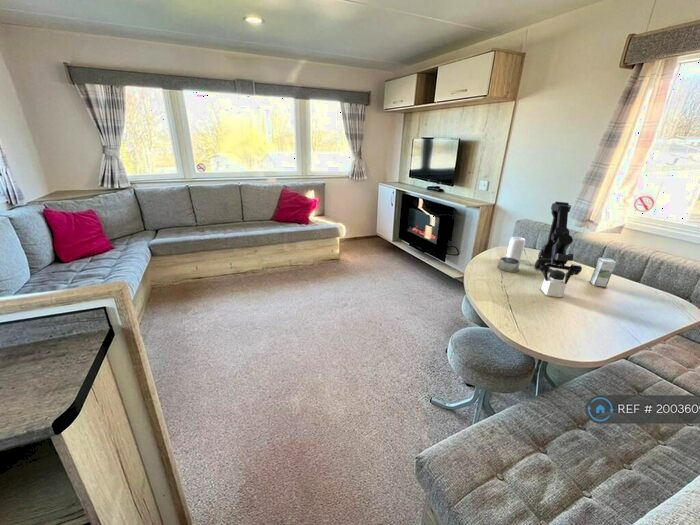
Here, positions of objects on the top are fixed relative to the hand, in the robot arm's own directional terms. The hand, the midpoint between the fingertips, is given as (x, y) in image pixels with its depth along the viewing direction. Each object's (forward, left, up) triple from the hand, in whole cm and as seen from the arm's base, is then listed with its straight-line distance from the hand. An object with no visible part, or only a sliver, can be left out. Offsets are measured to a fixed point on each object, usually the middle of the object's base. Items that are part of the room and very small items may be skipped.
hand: (555, 282), depth 150 cm
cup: (-30, -36, -7) cm, 47 cm away
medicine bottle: (-1, -1, -7) cm, 7 cm away
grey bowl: (-13, -30, -7) cm, 33 cm away
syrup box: (-35, +8, -7) cm, 37 cm away
